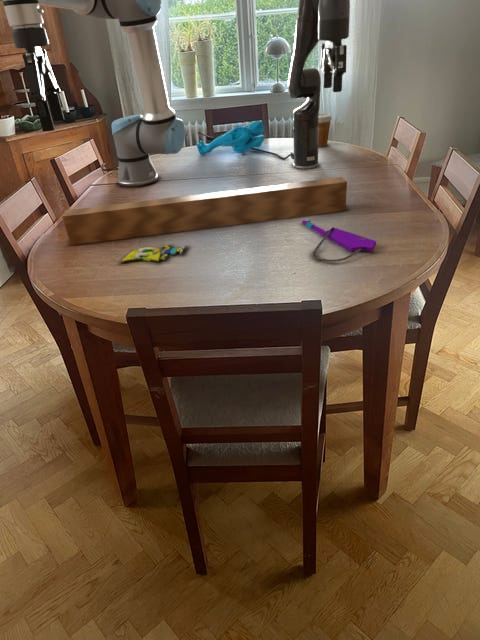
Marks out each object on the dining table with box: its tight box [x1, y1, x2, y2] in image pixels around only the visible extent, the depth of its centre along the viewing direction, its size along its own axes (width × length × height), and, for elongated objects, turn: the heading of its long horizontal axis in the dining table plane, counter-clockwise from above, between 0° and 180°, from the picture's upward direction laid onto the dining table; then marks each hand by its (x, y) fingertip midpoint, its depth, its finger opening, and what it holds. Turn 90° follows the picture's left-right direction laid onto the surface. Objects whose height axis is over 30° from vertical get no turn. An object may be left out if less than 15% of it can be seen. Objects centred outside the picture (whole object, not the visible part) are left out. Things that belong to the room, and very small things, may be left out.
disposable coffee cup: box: [318, 113, 333, 148], centre depth 205 cm, size 10×10×12 cm
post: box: [62, 176, 348, 246], centre depth 139 cm, size 80×5×9 cm, turn 98°
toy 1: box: [120, 244, 187, 264], centre depth 126 cm, size 10×1×15 cm
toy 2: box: [196, 120, 266, 156], centre depth 207 cm, size 17×11×30 cm
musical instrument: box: [301, 219, 377, 263], centre depth 123 cm, size 24×2×20 cm
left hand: (54, 125), depth 121 cm, fingers open, 13 cm apart
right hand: (332, 89), depth 126 cm, fingers open, 8 cm apart
